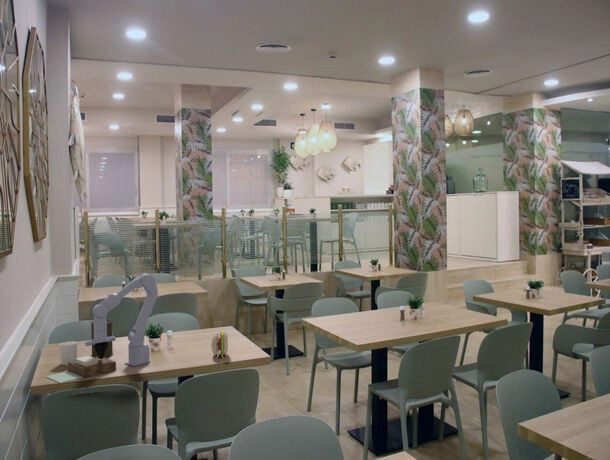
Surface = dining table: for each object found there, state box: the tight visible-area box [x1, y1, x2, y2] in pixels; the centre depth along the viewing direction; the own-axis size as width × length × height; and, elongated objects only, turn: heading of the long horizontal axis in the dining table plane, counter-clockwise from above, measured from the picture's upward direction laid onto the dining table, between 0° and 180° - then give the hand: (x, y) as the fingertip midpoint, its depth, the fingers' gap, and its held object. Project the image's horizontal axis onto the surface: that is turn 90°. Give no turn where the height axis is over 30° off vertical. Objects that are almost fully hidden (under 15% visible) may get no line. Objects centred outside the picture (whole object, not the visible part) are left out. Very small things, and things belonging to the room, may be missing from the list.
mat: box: [45, 370, 84, 384], centre depth 231 cm, size 10×14×1 cm
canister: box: [90, 319, 114, 358], centre depth 267 cm, size 11×10×20 cm
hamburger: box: [211, 329, 229, 359], centre depth 266 cm, size 12×8×12 cm
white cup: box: [59, 340, 78, 366], centre depth 253 cm, size 8×8×10 cm
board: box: [67, 356, 117, 379], centre depth 241 cm, size 15×16×4 cm
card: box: [76, 355, 98, 367], centre depth 239 cm, size 6×9×2 cm, turn 50°
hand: (100, 358), depth 245 cm, fingers closed
